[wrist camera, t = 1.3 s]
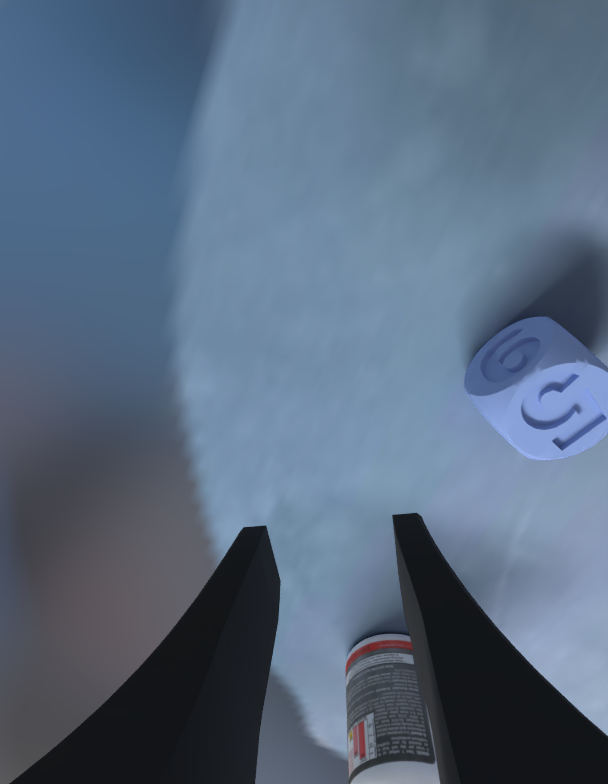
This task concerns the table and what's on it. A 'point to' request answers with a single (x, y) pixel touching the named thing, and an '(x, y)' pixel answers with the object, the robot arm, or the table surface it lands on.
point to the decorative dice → (540, 389)
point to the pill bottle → (387, 715)
